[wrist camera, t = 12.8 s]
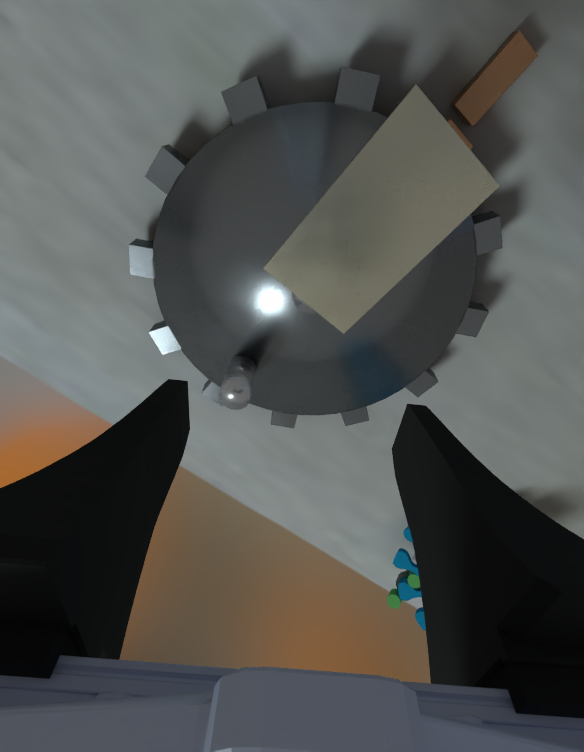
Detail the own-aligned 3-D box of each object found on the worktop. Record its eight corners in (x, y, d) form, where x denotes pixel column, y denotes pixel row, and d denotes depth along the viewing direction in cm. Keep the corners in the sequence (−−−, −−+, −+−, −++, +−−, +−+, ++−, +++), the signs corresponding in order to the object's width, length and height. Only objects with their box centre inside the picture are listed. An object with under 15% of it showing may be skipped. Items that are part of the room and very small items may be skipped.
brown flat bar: (482, -10, 15) (489, -14, 14) (557, 93, 17) (564, 93, 16) (246, 287, 22) (245, 291, 21) (315, 339, 23) (316, 344, 23)
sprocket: (570, 120, 17) (632, 124, 13) (416, 437, 27) (431, 481, 24) (127, 20, 15) (80, -2, 12) (142, 393, 25) (119, 434, 22)
